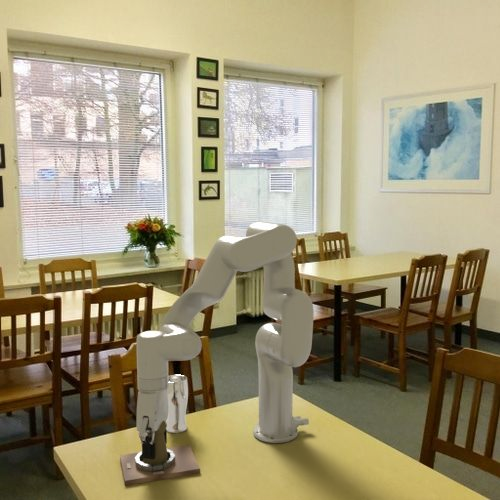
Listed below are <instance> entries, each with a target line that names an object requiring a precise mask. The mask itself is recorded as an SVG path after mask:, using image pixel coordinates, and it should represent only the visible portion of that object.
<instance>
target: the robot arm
mask: <svg viewBox="0 0 500 500" xmlns="http://www.w3.org/2000/svg"><path fill="white" fill-rule="evenodd" d="M297 238H298V237H297V234H296V232H295V231H294V229H293V228H292V227H291V226H289V225H287V224H282V223H275V222H268V221H257V222H256V221H255V222H254V223H252V224H250V225H249V226H248V227H247V229H246V232H245V237H243V236H242V237H241V236H238V235H237V236H236V235H224V236H221V237H219V238H218V239H217V240H216V241H215V243H213V246H212V248H211V250H210V251H209V254H208V256H207V257H206V259H205V260H204V262H203V265H202V266H201V269H199V270H200V271H199V272H198V274H197V276H196V278H195V280H194V281H193V283H192V284H191V286H190V287H189V288H187V289H186V290H185V291H184V292H183V293H182V294H181V295H180V296H179V297H178V298H177V299H176V300H175V301H174V303H172V305H171V306H170V308H169V310H168V311H167V313H166V315H165V317H164V318H163V321H161V325H160V327H159V330H146V331H142V332H140V333H139V334H138V335H137V336H136V343H135V344H136V345H135V346H136V371H137V377H136V378H137V390H138V393H137V402H136V431H137V432H139V433H138V437H139V439H140V443H141V451H142V457H143V458H145V459H155V443H153V442H154V435H155V432H156V431H157V430H158V429H159V428H160V425H161V423H162V422H163V421H165V423H166V428H167V418H168V393H167V389H168V387H169V376H170V375H169V362H170V361H171V362H172V361H174V362H175V361H180V362H181V361H190V360H193V359H194V358H196V357H197V356H199V354H200V353H201V350H202V347H203V346H202V345H203V344H202V340H201V337H200V336H199V334H197V333H196V332H195V331H193V330H191V329H189V327H190V326H191V323H192V322H193V320H194V319H195V318H196V316H197V315H199V313H201V312H202V311H203V310H205V309H206V308H208V307H210V306H213V305H215V304H217V303H219V302H221V301H222V300H223V299H224V298H225V295H226V293H227V292H228V290H229V287H230V286H231V284H232V282H233V281H234V278H235V277H236V274H237V272H241V273H243V272H244V273H246V272H252V271H255V270H258V269H260V268H263V284H262V285H263V286H262V302H261V303H262V311H263V313H264V314H265V315H266V316H267V317H269V318H271V319H273V320H275V321H278V322H281V323H278V322H268V323H265V324H263V325H262V326H260V328H259V329H258V330H257V332H256V334H255V340H254V341H255V350H256V351H255V352H256V356H257V366H258V423H257V424H255V426H254V427H253V432H252V434H253V436H254V437H255V438H256V439H257V440H259V441H262V442H265V443H268V444H269V443H270V444H284V443H288V442H291V441H293V440H295V439H296V438H297V436H298V435H299V429H298V428H299V426H307V425H310V424H309V422H310V421H309V418H308V417H303V418H302V417H301V415H295V416H294V415H293V399H294V398H293V393H294V392H293V389H294V387H293V385H294V384H293V383H294V382H293V381H294V380H293V379H294V378H293V377H294V375H293V371H294V370H293V368H298V367H301V366H303V365H304V364H305V363H306V362H307V360H308V359H309V358H310V357H309V356H310V354H311V351H312V346H313V345H312V344H313V343H312V342H313V333H314V332H313V330H314V317H315V316H314V315H315V314H314V313H315V312H314V311H315V310H314V304H313V302H312V301H313V300H312V299H311V297H310V296H309V295H308V293H307V292H305V291H302V290H300V289H297V288H296V284H295V281H296V280H295V275H296V274H295V273H296V267H295V260H294V258H293V255H292V253H293V252H294V250H295V248H296V246H297V243H298V240H297ZM147 428H152V430H147ZM147 433H151V437H149V436H147ZM167 433H168V431H167V429H166V430H165V432H164V436H165V442H166V444H168V443H167V442H168V439H167V436H168V435H167Z"/></svg>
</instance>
